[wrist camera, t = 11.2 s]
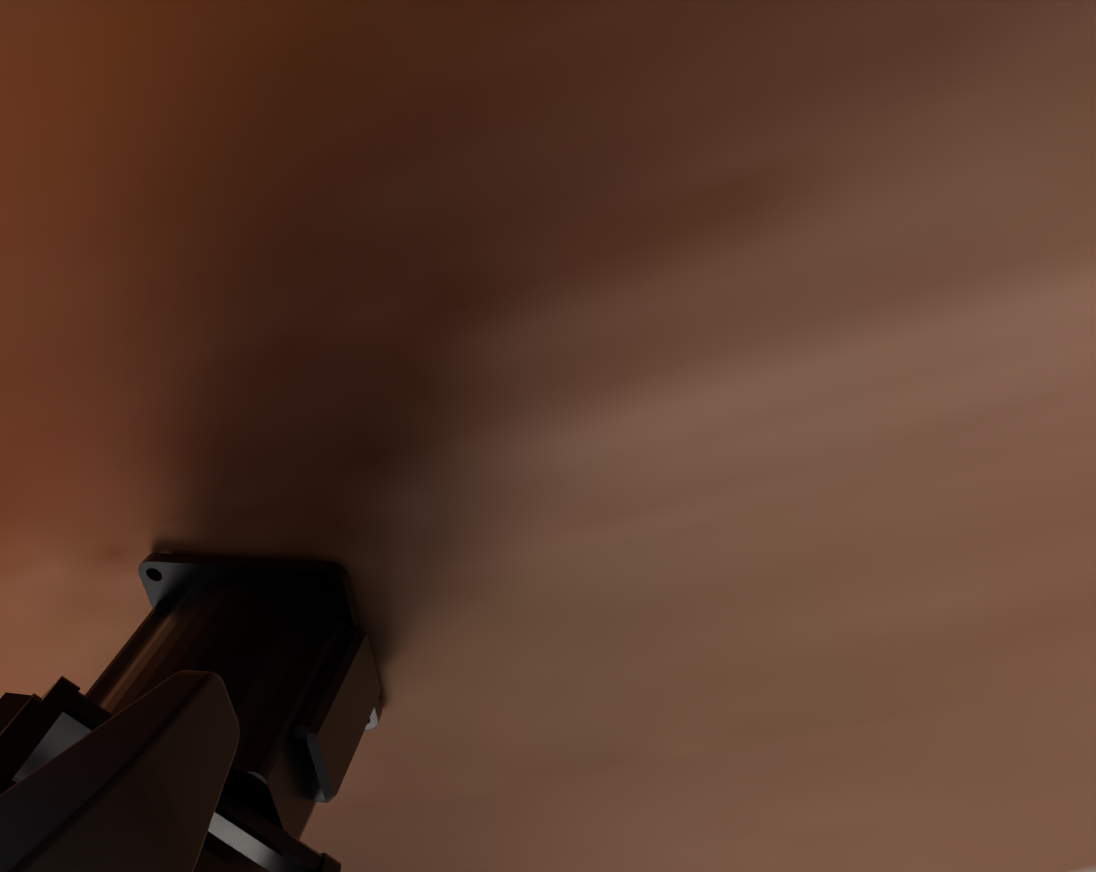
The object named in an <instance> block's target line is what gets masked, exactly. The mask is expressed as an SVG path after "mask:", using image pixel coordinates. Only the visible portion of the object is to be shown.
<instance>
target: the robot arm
mask: <svg viewBox="0 0 1096 872" xmlns="http://www.w3.org/2000/svg"><path fill="white" fill-rule="evenodd" d="M156 569H157V570H156ZM138 570H139V575H140V577H141V580H142V582H143V585H144V588H145V590H146V593H147V595H148V598H149V600H150V603H151V605H152V608H153V609H152V611H151V612H150V613H149V614H148V616H147V617H146V618H145V620H144V621H143V622H142V623H141V625H140V626H139V627H138V628H137V630H136V631H135V632H134V634H133V635H132V636H131V637H130V639H129V640H128V641H127V642H126V644H125V645H124V646H123V647H122V649H121V650H120V651H119V653H118V654H117V655H116V656H115V658H114V659H113V660H112V661H111V663H110V664H109V665H108V667H107V668H106V669H105V670H104V672H103V673H102V674H101V675H100V677H99V678H98V679H97V681H96V682H95V683H94V684H93V686H92V687H91V688H90V689H89V691H88V692H87V693H86V694H85V696H84V695H83V694H81V693H80V692H78V691H79V690H80V687H78V686H77V685H75V684H74V683H72V682H71V681H69V680H68V679H66V678H65V677H63V676H61V677H60V678H59V679H58V681H57V682H56V683H55V684H54V685H53V686H52V687H51V688H50V689H49V690H48V691H47V692H46V693H45V695H44V696H43V697H42V698H40V697H39V696H37V695H36V694H33V695H23V694H14V693H5V694H4V695H3V696H2V697H1V699H0V872H340V869H341V863H340V862H338V861H337V860H335V859H334V858H332V857H331V856H329V855H328V854H326V853H325V852H324V853H322V854H320V853H318V852H317V851H315V850H314V849H312V848H311V847H309V846H308V845H306V844H305V843H303V842H302V841H300V837H301V835H302V833H303V831H304V829H305V826H306V824H307V822H308V820H309V817H310V815H311V813H312V811H313V809H314V806H315V804H316V802H325V803H327V802H329V801H330V800H331V799H333V798H334V797H335V796H336V794H337V792H338V790H339V788H340V785H341V783H342V781H343V778H344V776H345V774H346V771H347V769H348V767H349V765H350V762H351V760H352V758H353V755H354V753H355V751H356V748H357V746H358V744H359V741H360V739H361V737H362V734H363V732H364V730H367V729H373V728H375V727H376V726H377V724H378V722H379V719H380V717H381V715H382V709H381V705H380V701H379V695H380V693H381V687H380V683H379V679H378V675H377V671H376V667H375V662H374V658H373V654H372V650H371V646H370V642H369V637H368V634H367V632H366V631H365V630H364V628H363V627H362V626H361V623H360V619H359V615H358V611H357V607H356V603H355V599H354V594H353V590H352V586H351V582H350V578H349V575H348V573H347V571H346V570H345V569H344V568H343V567H342V566H340V565H338V564H336V563H332V562H321V561H301V560H282V559H263V558H243V557H224V556H205V555H185V554H166V553H152V554H150V555H148V556H147V557H146V558H145V559H144V561H143V562H142V563H141V564H140V566H139V568H138ZM159 571H160V572H159ZM326 578H330V579H332V580H333V581H334V582H331V581H329V580H328V579H326Z"/></svg>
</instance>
